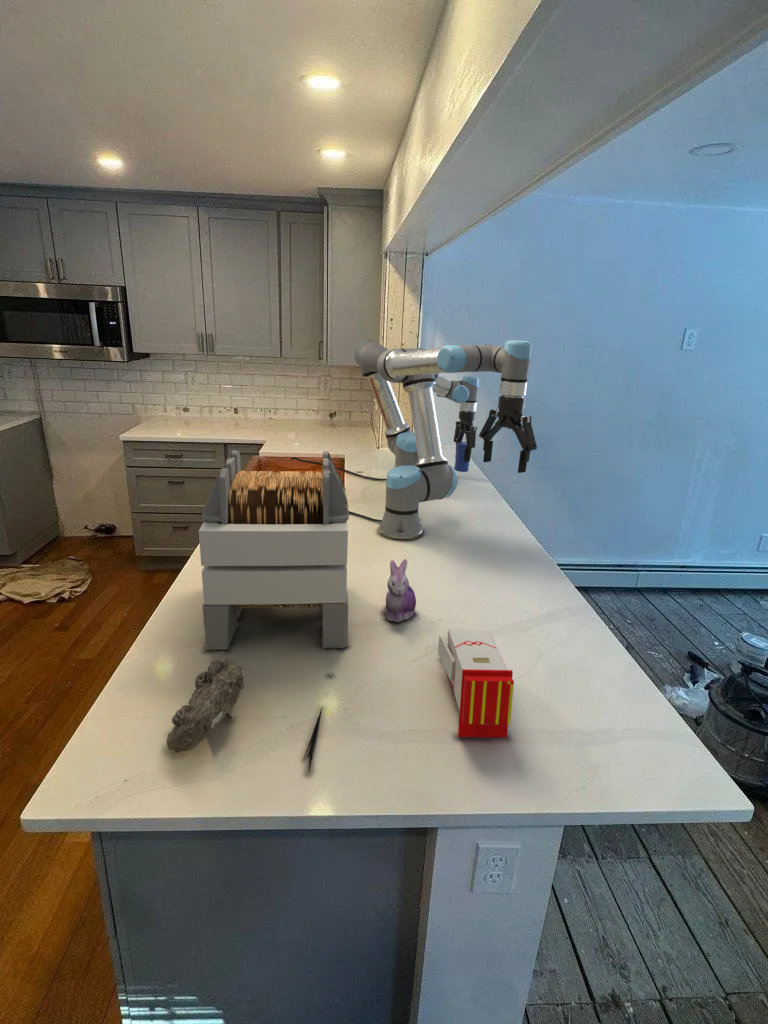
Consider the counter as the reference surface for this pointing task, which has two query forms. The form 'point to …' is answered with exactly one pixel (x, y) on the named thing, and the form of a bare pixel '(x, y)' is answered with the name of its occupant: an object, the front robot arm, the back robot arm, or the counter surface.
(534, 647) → the counter surface
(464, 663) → the toy
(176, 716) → the fossil
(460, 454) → the can
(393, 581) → the figurine
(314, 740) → the feather
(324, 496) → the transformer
